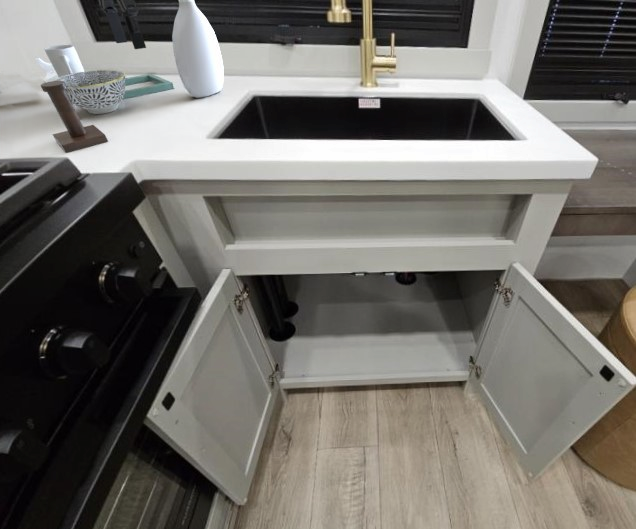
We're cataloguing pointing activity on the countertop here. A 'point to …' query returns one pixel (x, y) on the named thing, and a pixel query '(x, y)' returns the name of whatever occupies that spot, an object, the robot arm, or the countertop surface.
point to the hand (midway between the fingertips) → (130, 45)
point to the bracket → (48, 70)
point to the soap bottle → (196, 51)
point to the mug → (64, 59)
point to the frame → (160, 86)
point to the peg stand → (71, 120)
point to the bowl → (95, 89)
